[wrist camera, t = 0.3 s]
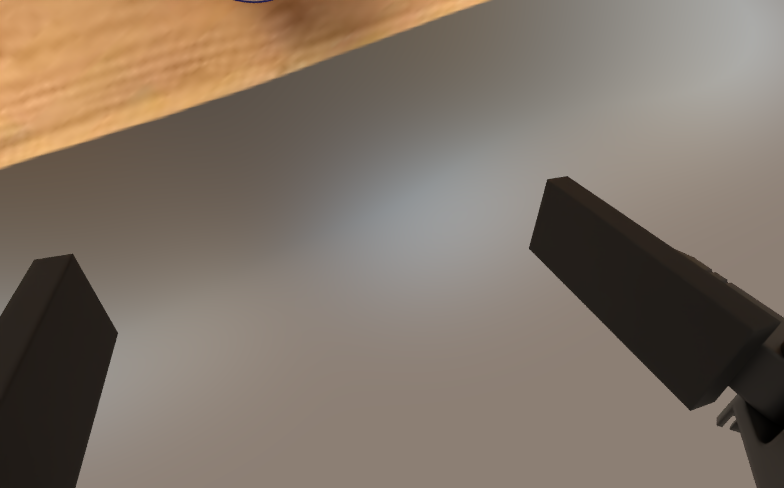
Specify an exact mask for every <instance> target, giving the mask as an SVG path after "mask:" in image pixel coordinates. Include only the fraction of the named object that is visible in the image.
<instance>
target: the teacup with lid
mask: <svg viewBox="0 0 784 488" xmlns="http://www.w3.org/2000/svg"><path fill="white" fill-rule="evenodd" d="M235 1H240V2H246V3H262V2H269V1H273V0H235Z"/></svg>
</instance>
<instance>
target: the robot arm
mask: <svg viewBox="0 0 784 488" xmlns="http://www.w3.org/2000/svg"><path fill="white" fill-rule="evenodd" d="M529 249H530V250H531V251H532V252H533V253H534V254H535V255H536V256H537V257H538V258H539V259H540V260H541V261H542V262H543V263H544V264H545V265H546V266H547V267H548V268H549V269H550V270H551V271H552V272H553V273H554V274H555V275H556V276H557V277H558V278H559V279H560V280H561V281H562V282H563V283H564V284H565V285H566V286H567V287H568V288H569V289H570V290H571V291H572V292H573V293H574V294H575V295H576V296H577V297H578V298H579V299H580V300H581V301H582V302H583V303H584V304H585V305H586V306H587V307H588V308H589V309H590V310H591V311H592V312H593V313H594V314H595V315H596V316H597V317H598V318H599V319H600V320H601V321H602V322H603V323H604V324H605V325H606V326H607V327H608V328H609V329H610V330H611V331H612V332H613V333H614V334H615V335H616V336H617V338H619V340H620V341H622V342H623V344H624V345H626V347H627V348H628V349H629V350H630V351H631V352H633V354H634V355H635V356H637V358H638V359H639V360H640V361H641V362H643V364H644V365H645V366H646V367H647V368H648V369H649V370H650V371H651V372H652V373H653V374H654V375H655V376H656V377H657V378H658V379H659V380H660V381H661V382H662V383H664V385H665V386H666V387H667V388H668V389H669V390H670V391H671V392H672V393H673V394H674V395H675V396H676V397H677V398H678V399H679V400H680V401H681V402H682V403H683V404H684V405H685V406H686V407H687V408H688V409H689V410H690V411H691V410H694V409H696V408H699V407H702V406H704V405H707V404H710V403H712V402H715V401H716V400H717V398H718V397H719V396H720V395H721V393H722V392H723V391H724V390H725V389H726V388H727V386H729V387H731V389H733V390H734V391H735V392H736V393H737V395H736V396H735V398H734V399H733V400H732V401H731V402H730V403H729V404H728V405H727V407H726V408H725V409H724V410H723V411H722V412H721V414H720V415H719V416H718V417H717V426H721V427H723V425H724V424H725V423H726V422H727V421H728V420H729V419H730V418H731V417H732V416H735V417H736V420H735V421H734V422H733V423H732V425H731V426H730V430H733V431H737V432H740V433H741V437H742V440H743V443H744V447H745V450H746V453H747V457H748V460H749V463H750V467H751V470H752V473H753V476H754V480H755V483H756V486H757V488H784V318H783V317H782V316H780V315H779V314H777V313H776V312H774V311H773V310H771V309H770V308H768V307H767V306H765V305H764V304H762V303H761V302H759V301H758V300H756V299H755V298H753V297H752V296H750V295H749V294H747V293H746V292H745V291H743V290H742V289H740V288H739V287H737V286H736V285H734V284H732V283H728V282H727V279H725V278H723V277H722V276H720V275H719V274H718V273H716V272H714V273H713V272H712V269H710V268H709V267H707V266H706V265H704V264H703V263H701V262H700V261H698V260H697V259H695V258H694V257H691V256H689V255H687V254H685V253H683V252H680V251H678V250H676V249H674V248H672V247H671V246H669V245H668V244H666V243H665V242H663V241H662V240H660V239H659V238H657V237H656V236H654V235H653V234H651V233H650V232H649V231H647V230H646V229H644V228H643V227H641V226H640V225H638V224H637V223H635V222H634V221H632V220H631V219H629V218H628V217H626V216H625V215H624V214H622V213H621V212H619V211H618V210H616V209H615V208H613V207H612V206H610V205H609V204H607V203H606V202H605V201H603V200H601V199H600V198H598V197H597V196H596V195H594V194H592V193H591V192H590V191H588V190H587V189H585V188H584V187H582V186H581V185H579V184H578V183H577V182H575V181H574V180H572V179H571V178H569V177H568V176H566V177H560V178H553V179H548V180H547V183H546V186H545V190H544V194H543V198H542V202H541V205H540V209H539V213H538V216H537V220H536V224H535V228H534V231H533V235H532V239H531V243H530V246H529ZM117 334H118V332H117V331H116V329H115V327H114V325H113V324H112V322H111V320H110V318H109V317H108V315H107V313H106V311H105V310H104V308H103V306H102V304H101V303H100V301H99V299H98V297H97V295H96V294H95V292H94V290H93V289H92V287H91V285H90V283H89V281H88V280H87V278H86V276H85V274H84V273H83V271H82V270H81V268H80V266H79V264H78V262H77V260H76V259H75V257H74V255H73V254H68V255H62V256H56V257H49V258H43V259H36V260H34V261H33V263H32V265H31V266H30V268H29V270H28V271H27V273H26V274H25V276H24V278H23V279H22V281H21V283H20V285H19V286H18V288H17V290H16V291H15V293H14V294H13V296H12V298H11V299H10V301H9V303H8V304H7V306H6V308H5V309H4V311H3V313H2V314H1V316H0V488H75V487H76V483H77V480H78V476H79V472H80V469H81V465H82V461H83V458H84V454H85V451H86V447H87V443H88V440H89V436H90V433H91V429H92V425H93V422H94V418H95V414H96V411H97V407H98V403H99V400H100V396H101V393H102V389H103V386H104V382H105V378H106V375H107V371H108V367H109V364H110V360H111V356H112V353H113V349H114V345H115V342H116V338H117Z"/></svg>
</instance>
